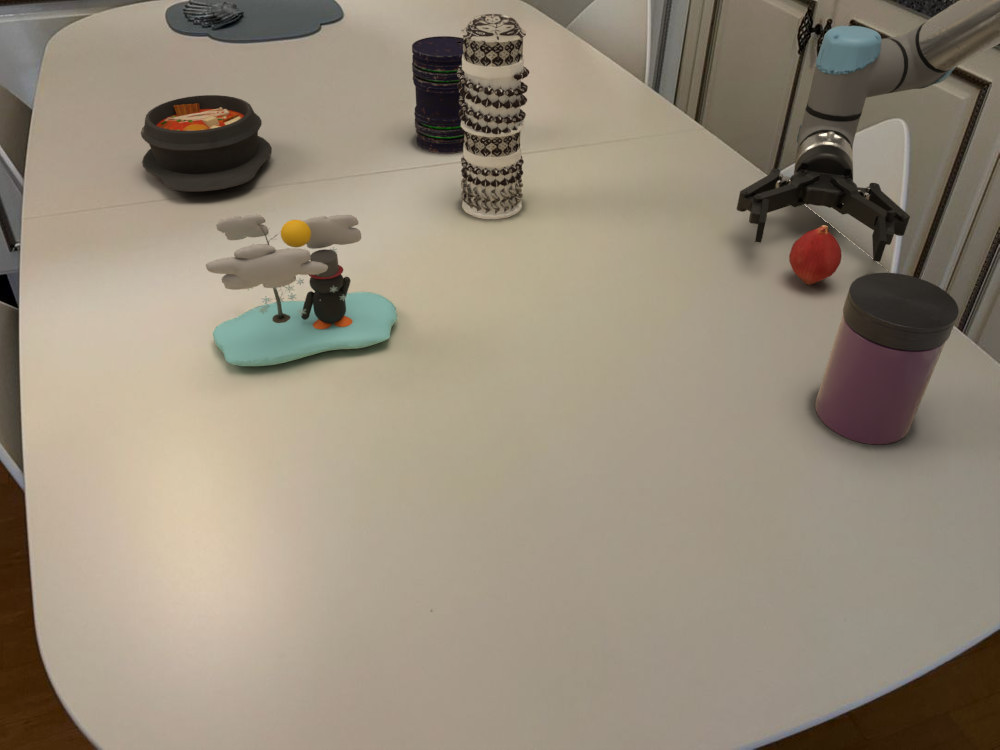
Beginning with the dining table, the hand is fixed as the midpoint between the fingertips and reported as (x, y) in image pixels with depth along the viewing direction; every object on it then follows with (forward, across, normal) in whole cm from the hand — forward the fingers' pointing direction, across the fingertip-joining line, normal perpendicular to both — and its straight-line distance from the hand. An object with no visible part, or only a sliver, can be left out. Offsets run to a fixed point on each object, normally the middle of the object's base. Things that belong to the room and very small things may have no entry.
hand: (819, 241), depth 101 cm
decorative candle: (-7, -43, +6) cm, 44 cm away
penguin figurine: (+30, -52, +6) cm, 60 cm away
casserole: (-5, -87, +6) cm, 87 cm away
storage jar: (-26, -57, +6) cm, 63 cm away
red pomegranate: (0, 0, +6) cm, 6 cm away
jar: (+24, +6, +6) cm, 25 cm away
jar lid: (+24, +6, -7) cm, 25 cm away
